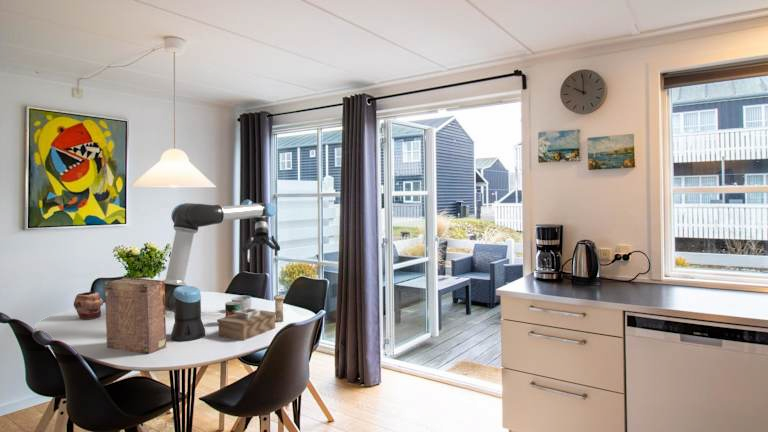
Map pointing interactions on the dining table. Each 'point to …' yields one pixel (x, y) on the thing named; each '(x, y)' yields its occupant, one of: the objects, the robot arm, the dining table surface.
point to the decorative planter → (88, 305)
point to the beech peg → (279, 307)
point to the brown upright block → (135, 314)
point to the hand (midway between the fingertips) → (261, 260)
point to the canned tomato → (232, 307)
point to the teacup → (243, 301)
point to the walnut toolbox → (246, 323)
